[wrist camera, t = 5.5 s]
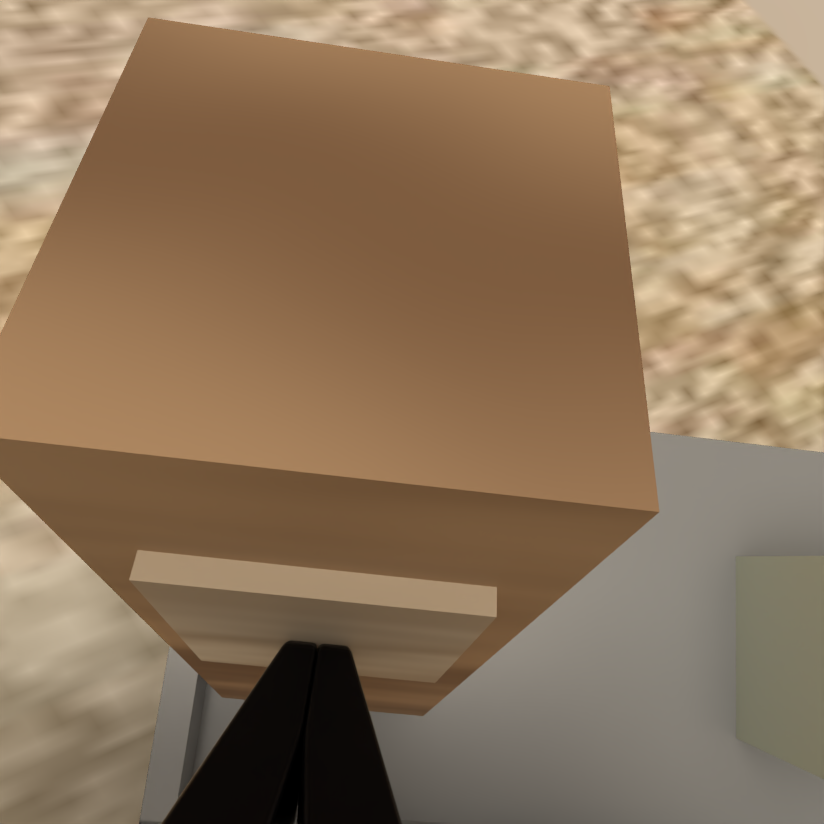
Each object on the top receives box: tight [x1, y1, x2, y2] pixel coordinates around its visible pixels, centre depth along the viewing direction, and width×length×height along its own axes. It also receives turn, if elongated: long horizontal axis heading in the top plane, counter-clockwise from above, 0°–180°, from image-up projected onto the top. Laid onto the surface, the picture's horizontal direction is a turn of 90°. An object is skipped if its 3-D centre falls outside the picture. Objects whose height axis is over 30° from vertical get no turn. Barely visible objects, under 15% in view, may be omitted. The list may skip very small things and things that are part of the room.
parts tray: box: [139, 432, 824, 824], centre depth 19 cm, size 12×22×2 cm, turn 84°
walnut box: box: [0, 18, 659, 716], centre depth 12 cm, size 5×5×14 cm
